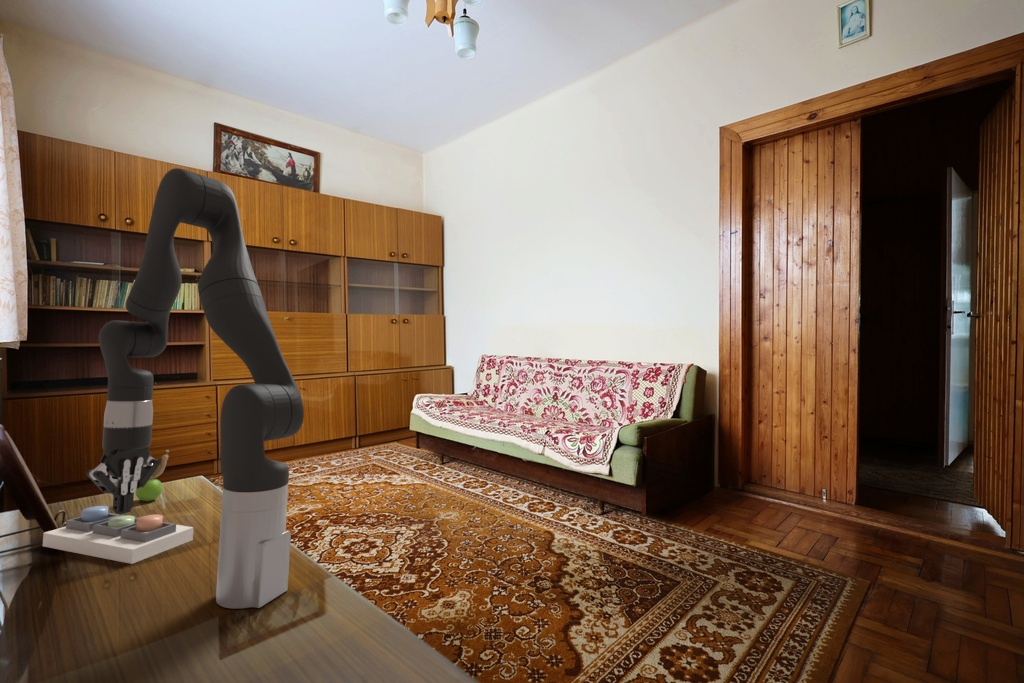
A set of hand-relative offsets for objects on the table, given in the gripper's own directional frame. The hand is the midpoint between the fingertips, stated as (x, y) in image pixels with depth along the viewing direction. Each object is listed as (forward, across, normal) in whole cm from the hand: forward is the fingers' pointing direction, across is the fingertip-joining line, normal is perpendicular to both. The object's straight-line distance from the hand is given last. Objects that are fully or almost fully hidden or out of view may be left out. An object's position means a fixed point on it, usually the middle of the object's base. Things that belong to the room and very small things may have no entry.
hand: (122, 512), depth 94 cm
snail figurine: (+6, +22, +20) cm, 30 cm away
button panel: (+6, 0, 0) cm, 6 cm away
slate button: (+2, 0, +7) cm, 7 cm away
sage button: (+3, 0, 0) cm, 3 cm away
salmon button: (+2, 0, -7) cm, 7 cm away
